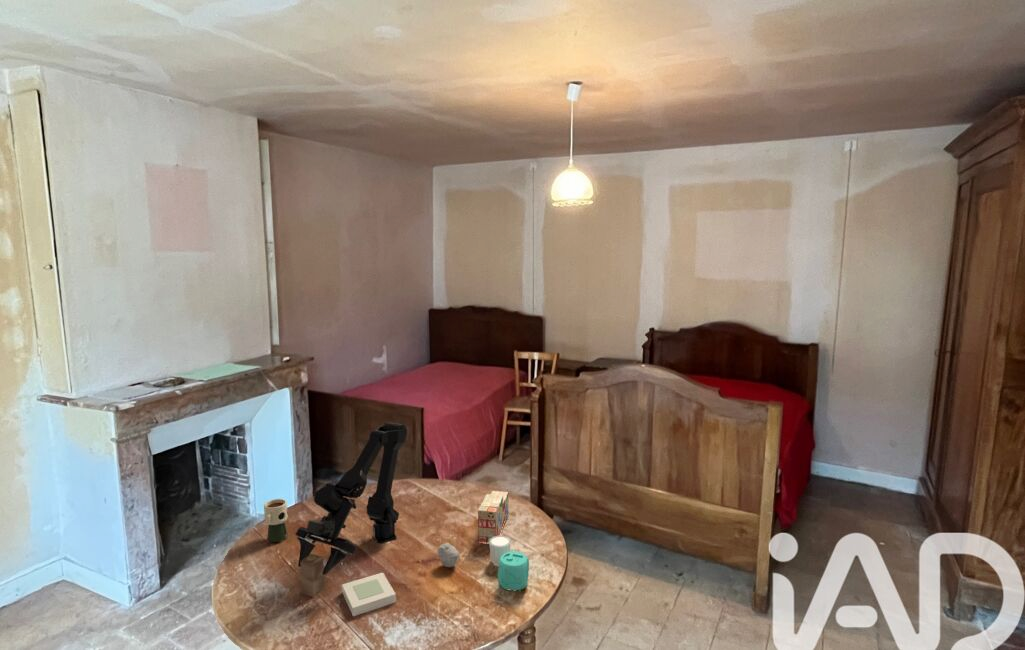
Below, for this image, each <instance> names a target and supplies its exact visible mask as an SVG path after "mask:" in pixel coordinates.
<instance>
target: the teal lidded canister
mask: <svg viewBox="0 0 1025 650" xmlns="http://www.w3.org/2000/svg"><path fill="white" fill-rule="evenodd" d="M497 567H498V566H497ZM529 571H530V561H529V558H528V556H527V555H525V554H524V553H523V552H520V551H517V550H515V551H513V550H510V552H507V553H504V554H503V555H502V556H501V557H500V561H499V567H498V568H497V581H498V583H497V584H498V585H499V586H501V588H502V589H504V590H506V589H510V590H519V591H521V590H520V589H522V590H523V589H526V587H527V586H528V582H529ZM527 581H528V582H527ZM526 585H527V586H526Z"/></svg>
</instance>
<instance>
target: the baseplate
mask: <svg viewBox="0 0 1025 650" xmlns="http://www.w3.org/2000/svg"><path fill="white" fill-rule="evenodd" d="M341 590H342V595H343V597H344V599H345V600H344V601H346V604H347V605H348V608H349V610H350V613H351V614H352V617H356V616H359V615H362V614H365V613H368V612H371V611H374V610H377V609H380V608H383V607H386V606H390V605H391V604H392V605H393V604H395V603H397V593H396V592H395V591H394V589H393V587H392V585H391V584H390V581H389V580H388V579H387V577H386V575H385V573H384V572H380V573H377V574H373V575H370V576H367V577H362V578H359V579H357V580H352V581H350V582H349V581H348V582H347V583H343V584H341Z"/></svg>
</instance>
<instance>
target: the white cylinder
mask: <svg viewBox="0 0 1025 650" xmlns="http://www.w3.org/2000/svg"><path fill="white" fill-rule="evenodd" d="M511 541H512V540H511V538H510V537H508V536H505V535H500V536H495V537H492V538H491V539H490V540H489V545H488V546H489V551H490V552H489V553H490V562H491V561H492V563H494V564H497V565H499V561H500V557H501V556H502V555H503V554H504V553H507V552H511V545H512V543H511ZM492 563H491V564H492Z"/></svg>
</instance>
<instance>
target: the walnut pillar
mask: <svg viewBox="0 0 1025 650" xmlns="http://www.w3.org/2000/svg"><path fill="white" fill-rule="evenodd" d="M324 563H325V562H324V556H322V555H319V554H315V553H310V555H309V556H307V557H306V558H304V559H303V560H301V561H300V565H301V567H300V576H301V577H300V580H301V594H303V595H306V596H309V597H312V598H315V597H316V596H318V595H319V594H320V593H321V592H323V591H324V590H326V585H325V582H326V581H325V575H324V574H322V573H323V570H324V567H325V565H324Z"/></svg>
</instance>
